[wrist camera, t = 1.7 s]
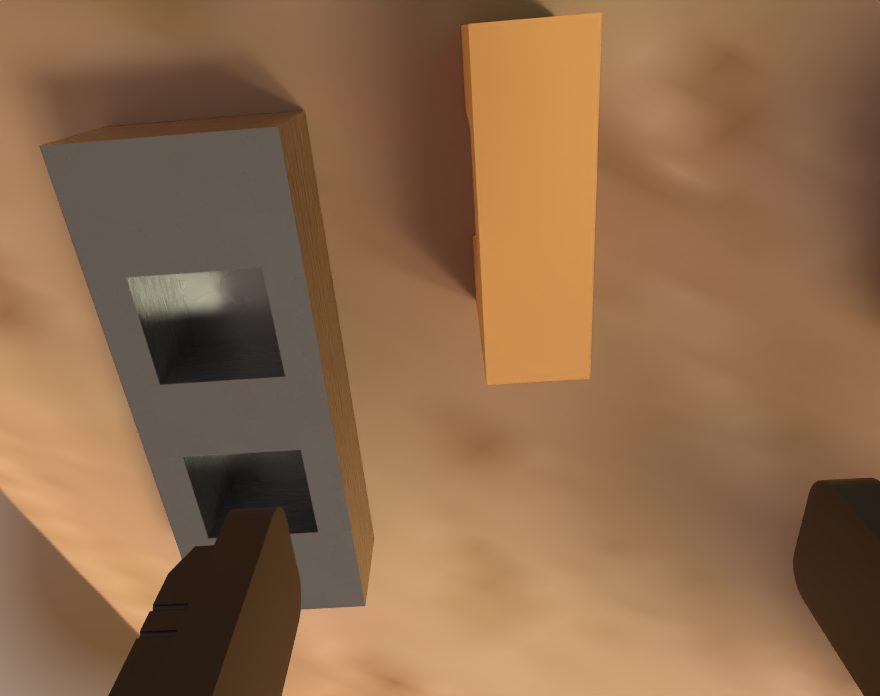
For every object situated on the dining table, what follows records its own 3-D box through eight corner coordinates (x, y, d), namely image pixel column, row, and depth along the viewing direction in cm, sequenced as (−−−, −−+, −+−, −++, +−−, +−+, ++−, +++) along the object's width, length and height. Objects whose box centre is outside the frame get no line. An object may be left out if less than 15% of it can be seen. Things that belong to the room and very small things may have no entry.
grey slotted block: (304, 110, 25) (278, 126, 21) (374, 538, 35) (365, 605, 31) (103, 127, 25) (39, 145, 21) (229, 547, 35) (201, 614, 31)
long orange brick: (556, 16, 23) (602, 12, 17) (555, 295, 28) (590, 378, 22) (460, 25, 24) (468, 24, 17) (476, 300, 28) (486, 385, 22)
